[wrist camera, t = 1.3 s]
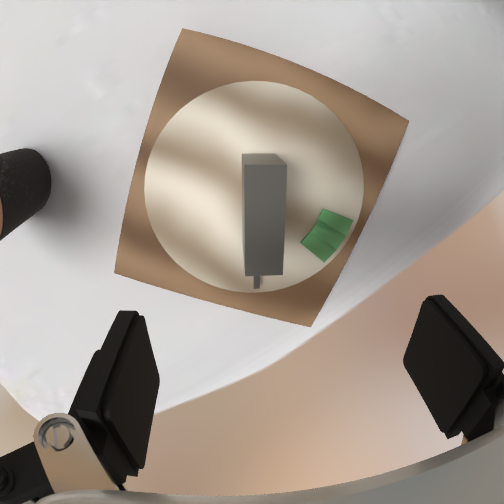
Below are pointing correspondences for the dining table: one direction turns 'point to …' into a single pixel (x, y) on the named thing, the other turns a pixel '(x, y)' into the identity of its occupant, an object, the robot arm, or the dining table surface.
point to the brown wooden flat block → (230, 176)
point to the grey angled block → (263, 214)
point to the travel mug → (21, 187)
